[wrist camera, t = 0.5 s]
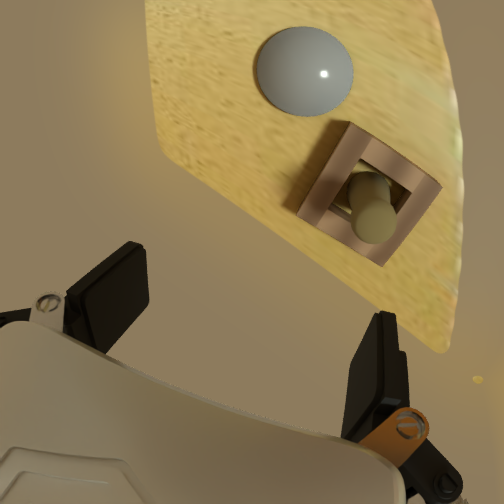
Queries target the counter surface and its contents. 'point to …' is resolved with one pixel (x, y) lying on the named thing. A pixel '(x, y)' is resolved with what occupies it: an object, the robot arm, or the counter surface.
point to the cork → (371, 208)
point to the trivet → (305, 71)
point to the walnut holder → (387, 161)
